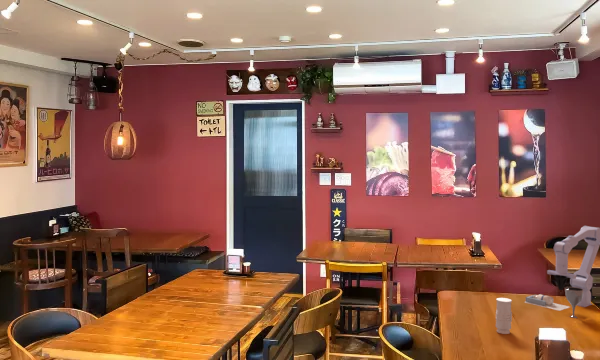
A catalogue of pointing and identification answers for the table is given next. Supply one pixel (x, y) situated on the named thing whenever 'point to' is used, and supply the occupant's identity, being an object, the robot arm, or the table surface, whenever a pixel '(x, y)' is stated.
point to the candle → (503, 315)
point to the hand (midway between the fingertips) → (561, 289)
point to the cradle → (544, 303)
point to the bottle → (544, 298)
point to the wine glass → (573, 297)
